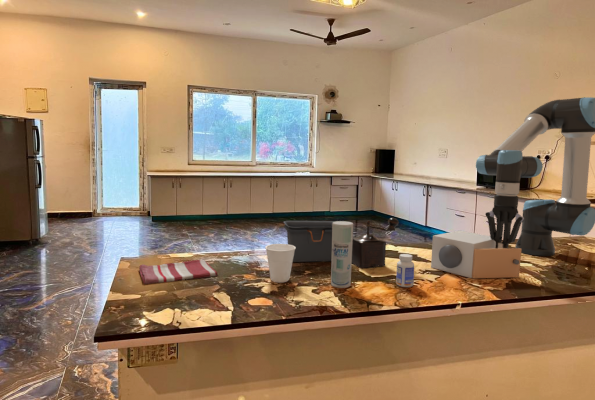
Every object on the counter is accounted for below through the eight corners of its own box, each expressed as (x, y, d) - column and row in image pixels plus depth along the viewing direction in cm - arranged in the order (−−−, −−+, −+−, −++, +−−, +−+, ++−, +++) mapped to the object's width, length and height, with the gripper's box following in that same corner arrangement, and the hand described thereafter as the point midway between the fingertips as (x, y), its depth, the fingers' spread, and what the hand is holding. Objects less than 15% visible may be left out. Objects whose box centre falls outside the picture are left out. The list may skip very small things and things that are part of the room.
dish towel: (138, 271, 146) (138, 264, 146) (205, 264, 157) (205, 257, 156) (144, 286, 131) (143, 278, 131) (218, 277, 142) (218, 269, 141)
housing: (457, 260, 169) (459, 230, 168) (497, 269, 157) (499, 237, 155) (428, 268, 157) (430, 236, 155) (468, 279, 144) (471, 244, 143)
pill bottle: (414, 283, 138) (416, 254, 137) (411, 288, 133) (413, 258, 132) (397, 281, 140) (399, 252, 139) (394, 285, 136) (395, 256, 134)
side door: (517, 276, 148) (519, 248, 146) (521, 278, 145) (523, 249, 144) (471, 277, 145) (474, 248, 144) (475, 279, 143) (477, 250, 142)
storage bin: (332, 254, 174) (333, 219, 173) (344, 264, 159) (345, 227, 157) (281, 255, 170) (282, 220, 168) (288, 266, 155) (289, 228, 153)
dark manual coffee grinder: (361, 269, 154) (363, 220, 151) (348, 261, 164) (349, 215, 162) (398, 266, 159) (401, 218, 157) (383, 258, 169) (385, 214, 167)
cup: (299, 277, 142) (299, 245, 141) (288, 286, 133) (289, 252, 131) (271, 274, 145) (272, 242, 144) (259, 282, 136) (260, 248, 135)
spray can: (351, 282, 138) (354, 221, 136) (350, 288, 132) (352, 225, 129) (331, 280, 139) (333, 220, 137) (329, 287, 133) (331, 224, 130)
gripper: (482, 193, 150) (477, 258, 153) (521, 197, 140) (514, 266, 143) (493, 192, 155) (488, 255, 158) (530, 196, 145) (524, 263, 147)
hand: (500, 260), depth 150 cm, fingers closed
